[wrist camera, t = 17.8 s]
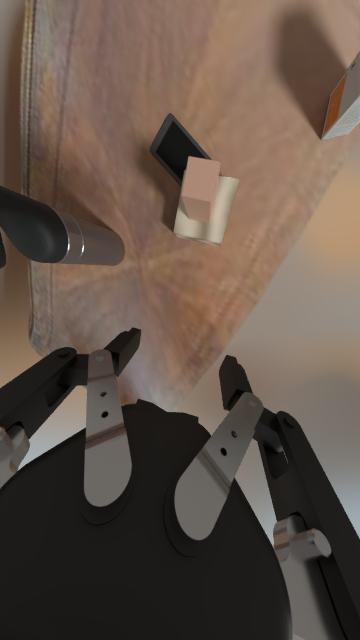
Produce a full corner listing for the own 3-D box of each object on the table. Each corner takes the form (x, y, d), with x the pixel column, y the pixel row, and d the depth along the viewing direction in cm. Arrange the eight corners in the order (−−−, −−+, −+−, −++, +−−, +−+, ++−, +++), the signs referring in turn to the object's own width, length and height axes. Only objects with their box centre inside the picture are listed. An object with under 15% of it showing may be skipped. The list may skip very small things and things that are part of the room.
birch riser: (178, 237, 37) (173, 232, 32) (188, 184, 33) (184, 170, 28) (219, 246, 36) (221, 243, 31) (235, 192, 31) (239, 179, 27)
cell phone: (170, 114, 29) (169, 110, 29) (216, 167, 31) (216, 164, 30) (149, 152, 32) (148, 149, 32) (192, 199, 34) (192, 197, 33)
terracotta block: (189, 218, 30) (181, 195, 21) (194, 193, 29) (188, 156, 20) (209, 223, 30) (210, 201, 21) (216, 197, 28) (220, 161, 19)
